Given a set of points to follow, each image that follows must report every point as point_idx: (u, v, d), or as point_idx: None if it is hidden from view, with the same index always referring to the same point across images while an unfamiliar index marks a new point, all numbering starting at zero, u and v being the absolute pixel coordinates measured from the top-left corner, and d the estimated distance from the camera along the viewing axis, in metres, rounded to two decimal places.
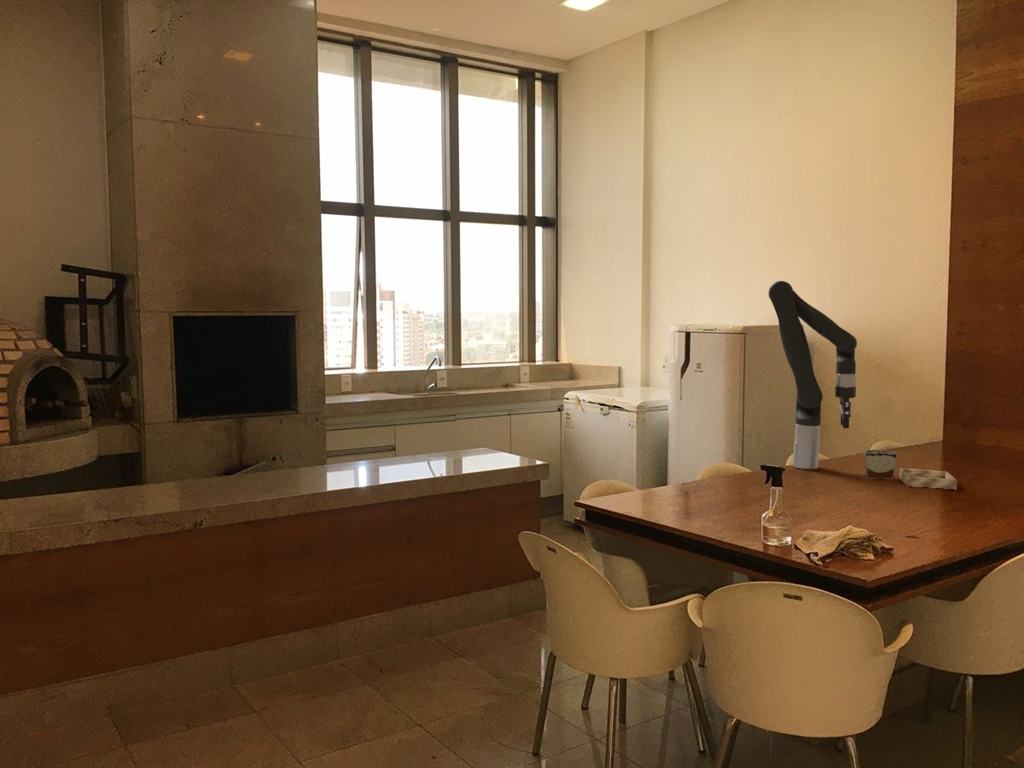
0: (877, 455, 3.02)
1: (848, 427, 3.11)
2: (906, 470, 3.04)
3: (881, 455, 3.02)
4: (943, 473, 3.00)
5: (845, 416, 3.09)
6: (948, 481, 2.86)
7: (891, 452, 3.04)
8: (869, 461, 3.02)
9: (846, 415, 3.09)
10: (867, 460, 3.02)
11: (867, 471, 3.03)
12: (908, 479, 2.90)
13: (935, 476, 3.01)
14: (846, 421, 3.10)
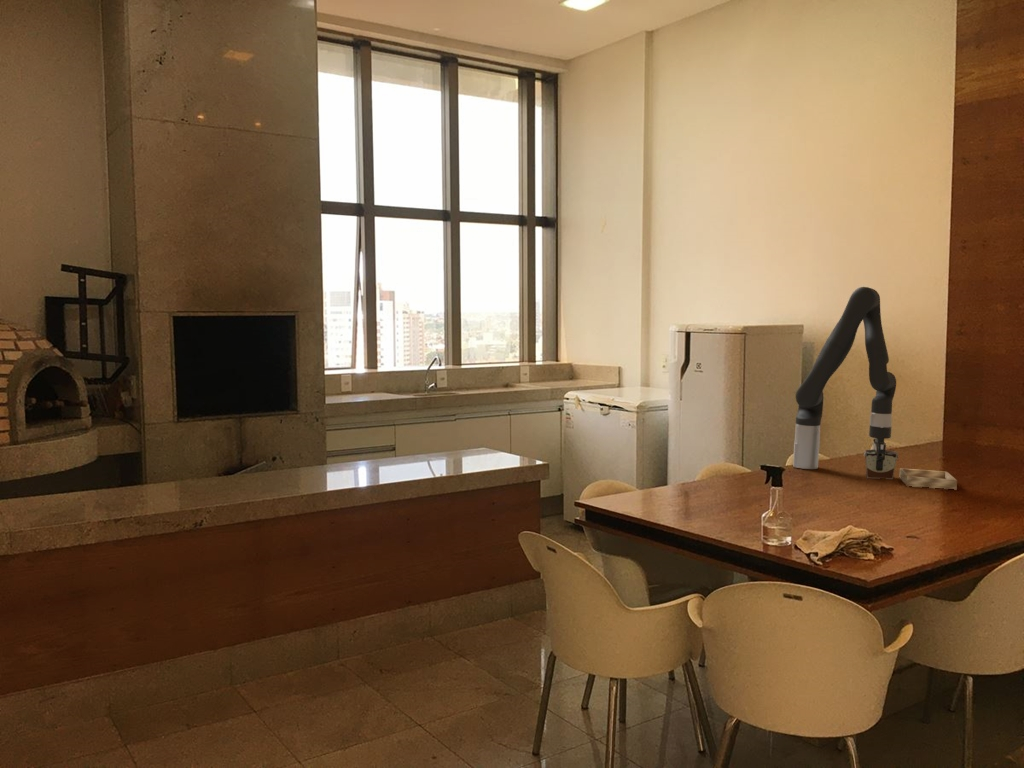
0: None
1: None
2: (906, 470, 3.04)
3: (881, 455, 3.02)
4: (943, 473, 3.00)
5: (879, 458, 2.99)
6: (948, 481, 2.86)
7: (891, 452, 3.04)
8: (869, 461, 3.03)
9: (880, 457, 2.99)
10: (867, 460, 3.03)
11: (867, 471, 3.03)
12: (908, 479, 2.90)
13: (935, 476, 3.01)
14: (880, 463, 3.01)
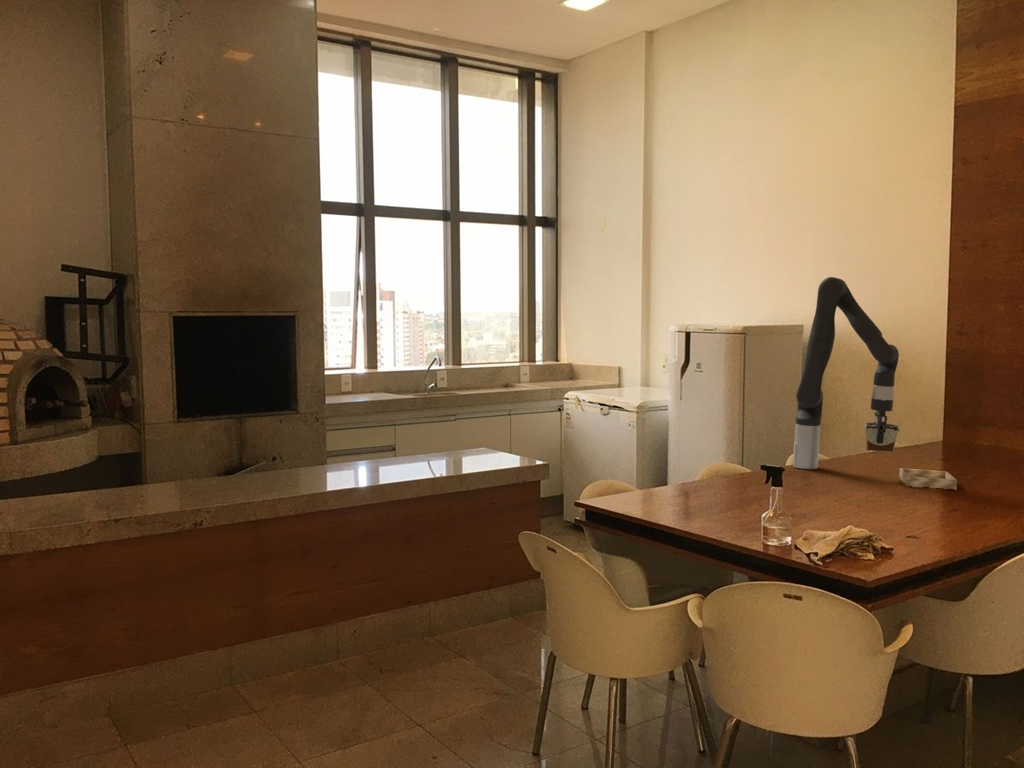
0: None
1: (882, 442, 3.00)
2: (906, 470, 3.04)
3: (882, 428, 3.01)
4: (943, 473, 3.00)
5: (880, 431, 2.98)
6: (948, 481, 2.86)
7: (892, 425, 3.03)
8: (869, 434, 3.02)
9: (881, 430, 2.98)
10: (868, 432, 3.02)
11: (867, 444, 3.02)
12: (908, 479, 2.90)
13: (935, 476, 3.01)
14: (880, 436, 3.00)
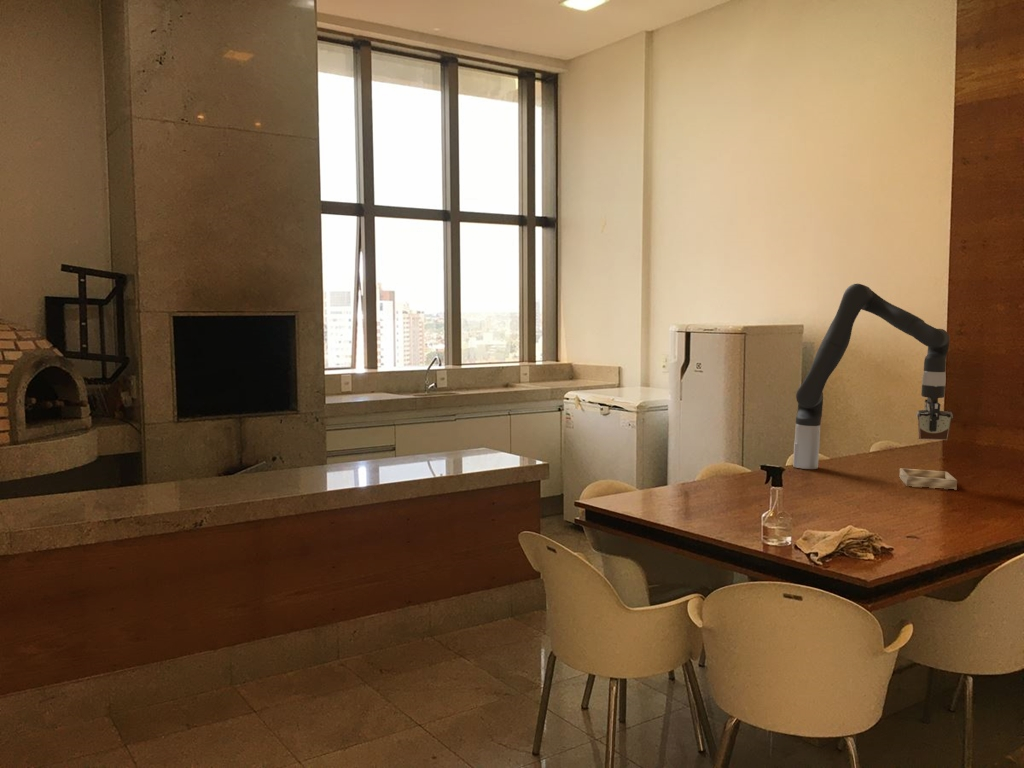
0: None
1: (935, 430, 2.90)
2: (906, 470, 3.04)
3: None
4: (943, 473, 3.00)
5: (933, 418, 2.87)
6: (948, 481, 2.86)
7: (945, 412, 2.92)
8: (922, 421, 2.91)
9: (934, 417, 2.87)
10: (920, 420, 2.91)
11: (920, 432, 2.91)
12: (908, 479, 2.90)
13: (935, 476, 3.01)
14: (934, 424, 2.89)
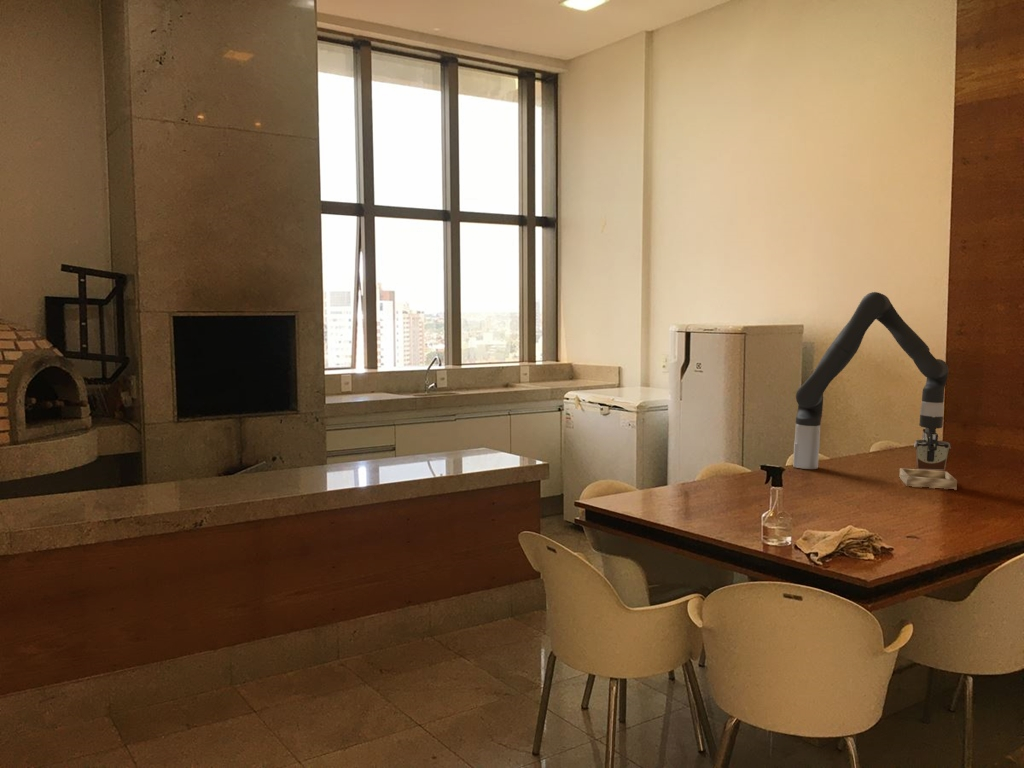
0: None
1: (933, 460, 2.91)
2: (906, 470, 3.04)
3: (932, 445, 2.91)
4: (943, 473, 3.00)
5: (931, 449, 2.88)
6: (948, 481, 2.86)
7: (942, 442, 2.93)
8: (920, 452, 2.92)
9: (932, 448, 2.88)
10: (918, 450, 2.92)
11: (918, 462, 2.92)
12: (908, 479, 2.90)
13: (935, 476, 3.01)
14: (931, 454, 2.90)
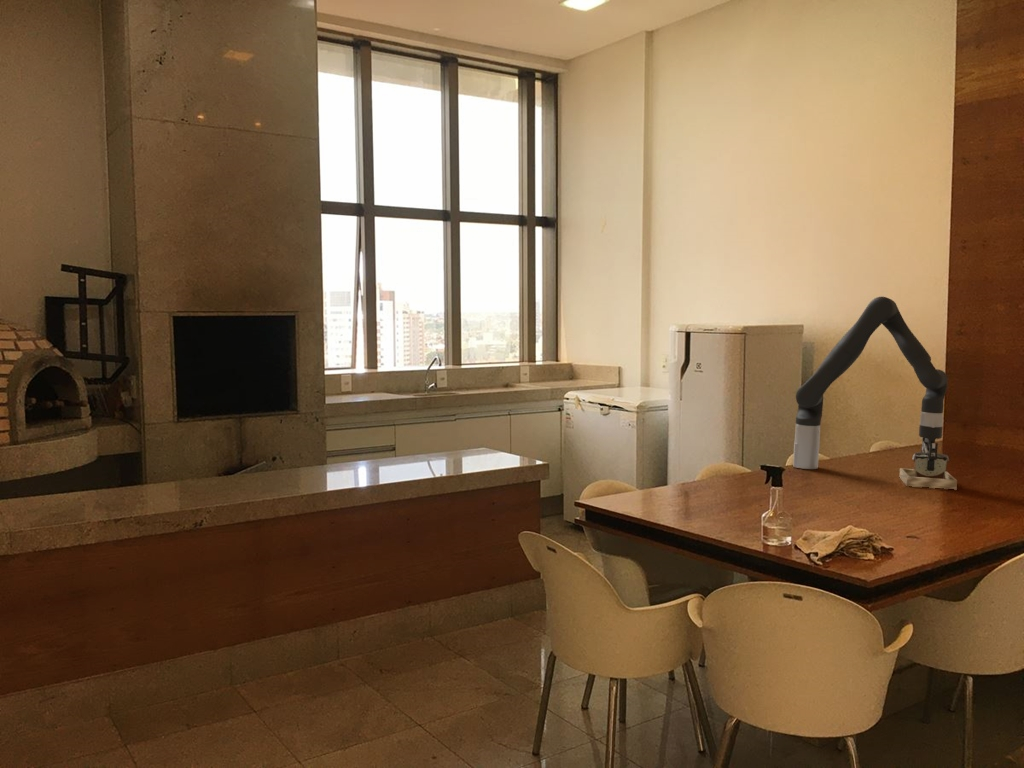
0: None
1: (933, 470, 2.90)
2: (906, 470, 3.04)
3: None
4: None
5: (931, 458, 2.88)
6: (948, 481, 2.86)
7: (941, 455, 2.94)
8: (918, 464, 2.93)
9: (932, 457, 2.88)
10: (916, 463, 2.93)
11: (916, 474, 2.93)
12: (908, 479, 2.90)
13: None
14: (931, 463, 2.89)
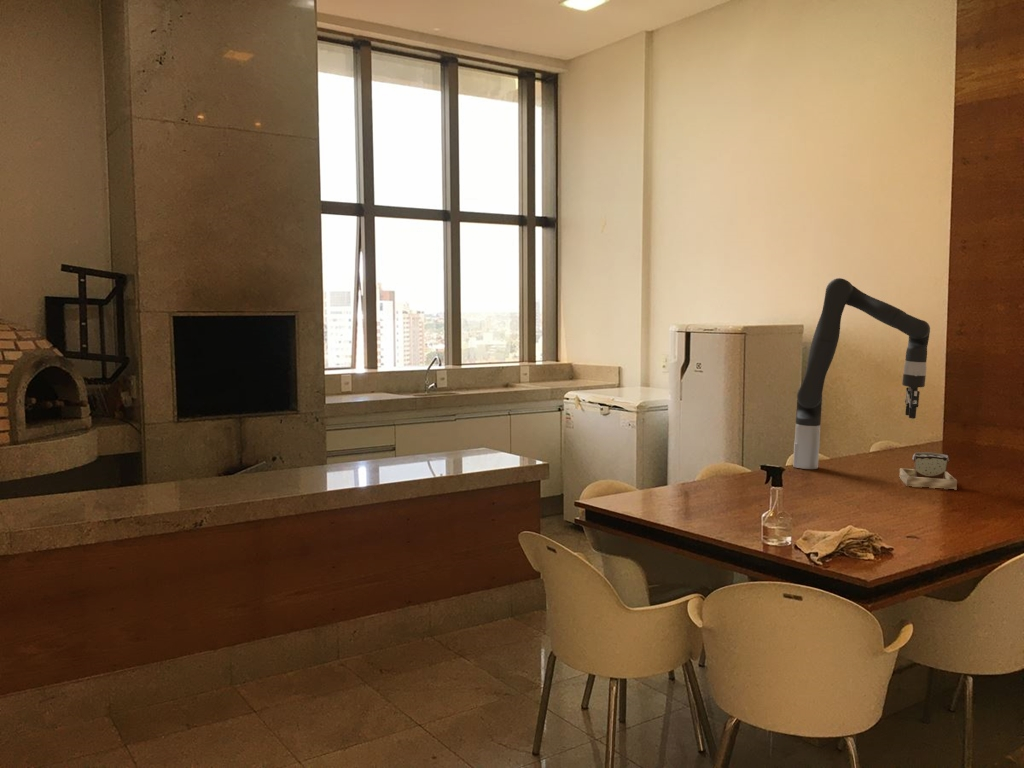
0: (927, 458, 2.92)
1: (914, 417, 2.97)
2: (906, 470, 3.04)
3: (931, 458, 2.92)
4: None
5: (913, 406, 2.95)
6: (948, 481, 2.86)
7: (941, 455, 2.94)
8: (918, 464, 2.93)
9: (914, 405, 2.95)
10: (916, 463, 2.93)
11: (916, 474, 2.93)
12: (908, 479, 2.90)
13: None
14: (913, 411, 2.97)
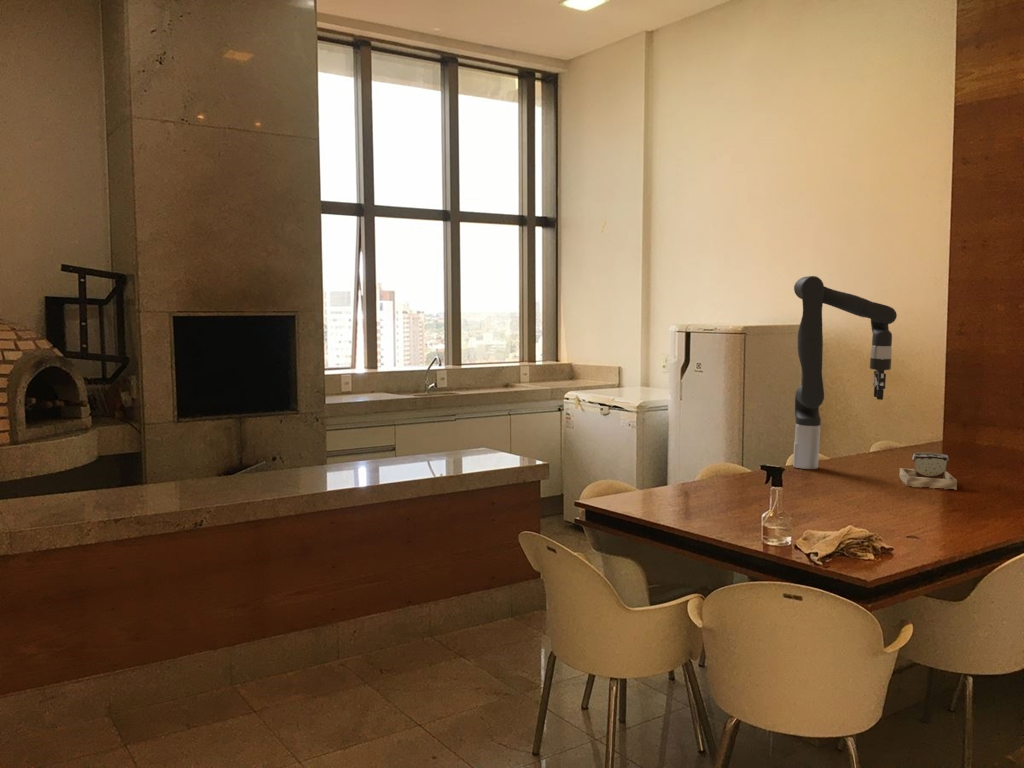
0: (927, 458, 2.92)
1: (882, 399, 3.14)
2: (906, 470, 3.04)
3: (931, 458, 2.92)
4: None
5: (880, 387, 3.12)
6: (948, 481, 2.86)
7: (941, 455, 2.94)
8: (918, 464, 2.93)
9: (881, 386, 3.12)
10: (916, 463, 2.93)
11: (916, 474, 2.93)
12: (908, 479, 2.90)
13: None
14: (880, 392, 3.13)
